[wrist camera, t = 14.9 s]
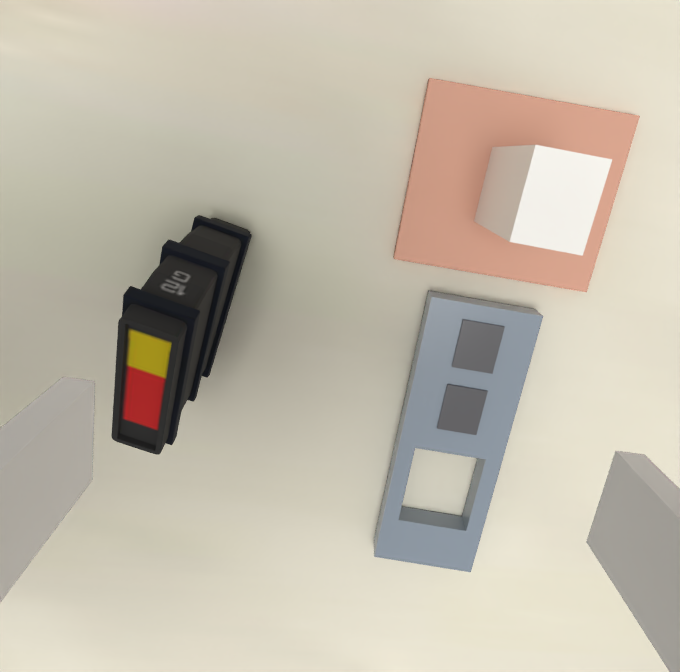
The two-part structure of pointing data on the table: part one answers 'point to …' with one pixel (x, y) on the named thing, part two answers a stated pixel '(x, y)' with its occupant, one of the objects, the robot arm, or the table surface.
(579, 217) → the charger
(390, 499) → the power strip
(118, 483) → the table surface
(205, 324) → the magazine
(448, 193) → the mat
